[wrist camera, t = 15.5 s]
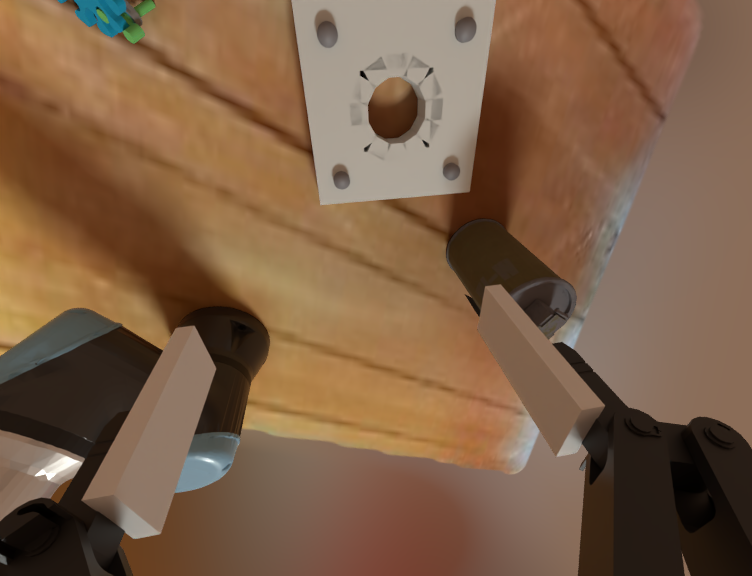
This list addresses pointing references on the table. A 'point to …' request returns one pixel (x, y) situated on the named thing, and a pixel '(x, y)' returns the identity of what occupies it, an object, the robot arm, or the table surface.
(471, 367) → the table surface
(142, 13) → the teal bumpy figure
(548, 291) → the canister
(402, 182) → the bearing plate
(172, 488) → the robot arm
